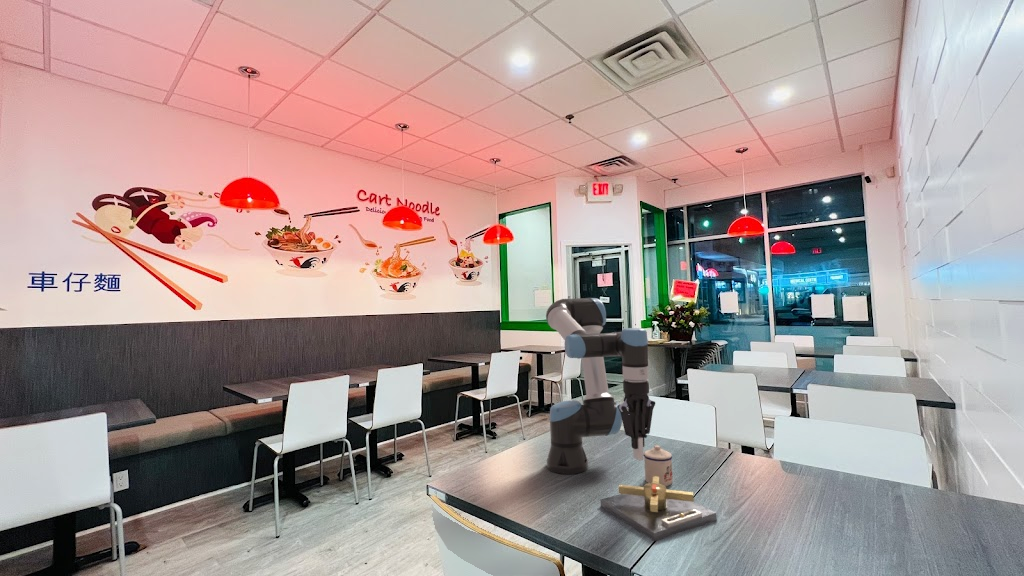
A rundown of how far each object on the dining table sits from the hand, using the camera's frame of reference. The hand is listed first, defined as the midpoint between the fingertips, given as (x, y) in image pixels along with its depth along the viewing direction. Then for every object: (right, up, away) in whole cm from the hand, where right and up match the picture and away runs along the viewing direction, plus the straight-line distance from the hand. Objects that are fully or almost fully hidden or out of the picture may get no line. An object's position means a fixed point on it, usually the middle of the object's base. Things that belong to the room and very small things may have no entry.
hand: (638, 458), depth 130 cm
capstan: (+3, -10, -7) cm, 13 cm away
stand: (+3, -12, -7) cm, 15 cm away
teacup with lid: (+12, -14, +16) cm, 24 cm away
